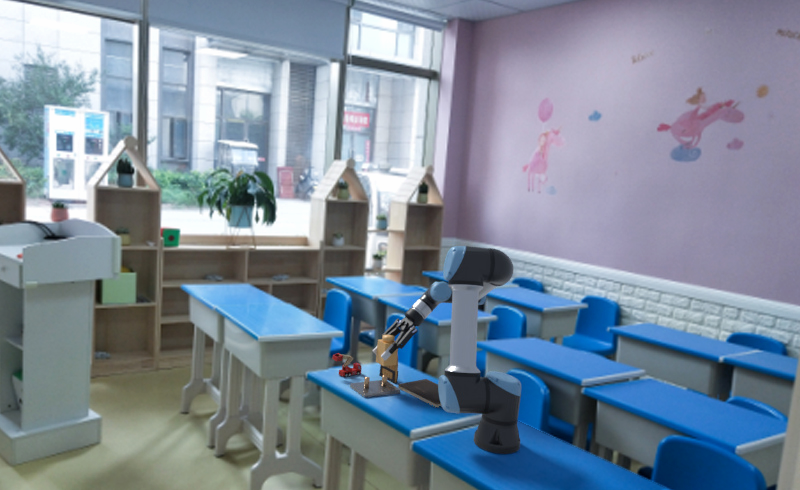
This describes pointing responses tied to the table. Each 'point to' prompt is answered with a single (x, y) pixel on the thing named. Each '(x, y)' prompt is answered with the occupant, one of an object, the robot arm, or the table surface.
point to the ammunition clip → (390, 372)
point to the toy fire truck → (345, 368)
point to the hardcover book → (423, 391)
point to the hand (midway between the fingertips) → (378, 355)
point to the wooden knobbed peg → (382, 347)
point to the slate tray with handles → (375, 387)
